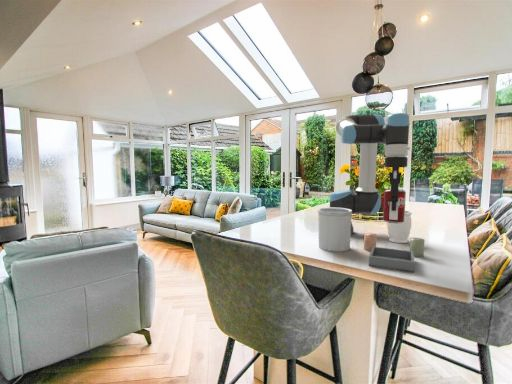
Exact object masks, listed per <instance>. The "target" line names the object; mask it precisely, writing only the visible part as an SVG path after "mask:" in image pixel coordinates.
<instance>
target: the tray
mask: <svg viewBox="0 0 512 384" xmlns="http://www.w3.org/2000/svg"><path fill="white" fill-rule="evenodd" d="M368 266H369V267H376V268H380V269H381V268H382V269H388V270H394V271H401V272H408V273H413V274H414V273H415V257H414V255H413V251H410V250H405V249H397V248H389V247H388V248H387V247H381V246H380V247H379V246H376V247H372V250H371V251H370V254H369V255H368Z"/></svg>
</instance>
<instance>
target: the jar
mask: <svg viewBox="0 0 512 384" xmlns="http://www.w3.org/2000/svg"><path fill="white" fill-rule="evenodd" d="M411 215H413V212H412V211H410V210H409V211H408V210H405V220H404V222H403V223H387V222H386V227H387V234H388V235H389V238H388V241H389V242H392V243H397V244H406V243H409V240H408V238H409V236H410V233H411V229H412V216H411Z"/></svg>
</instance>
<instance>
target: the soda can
mask: <svg viewBox="0 0 512 384" xmlns="http://www.w3.org/2000/svg"><path fill="white" fill-rule="evenodd" d="M406 193H407V192H406V191H405V189H398V219H397V220H392V219H389V212H390V202H388V199H390V195H391V189H384V191H383V208H382V211H383V213H382V220H383V222H384V223H386V224H387V223H403V222H404V220H405V211H406V198H407V197H406V196H407V195H406Z"/></svg>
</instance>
